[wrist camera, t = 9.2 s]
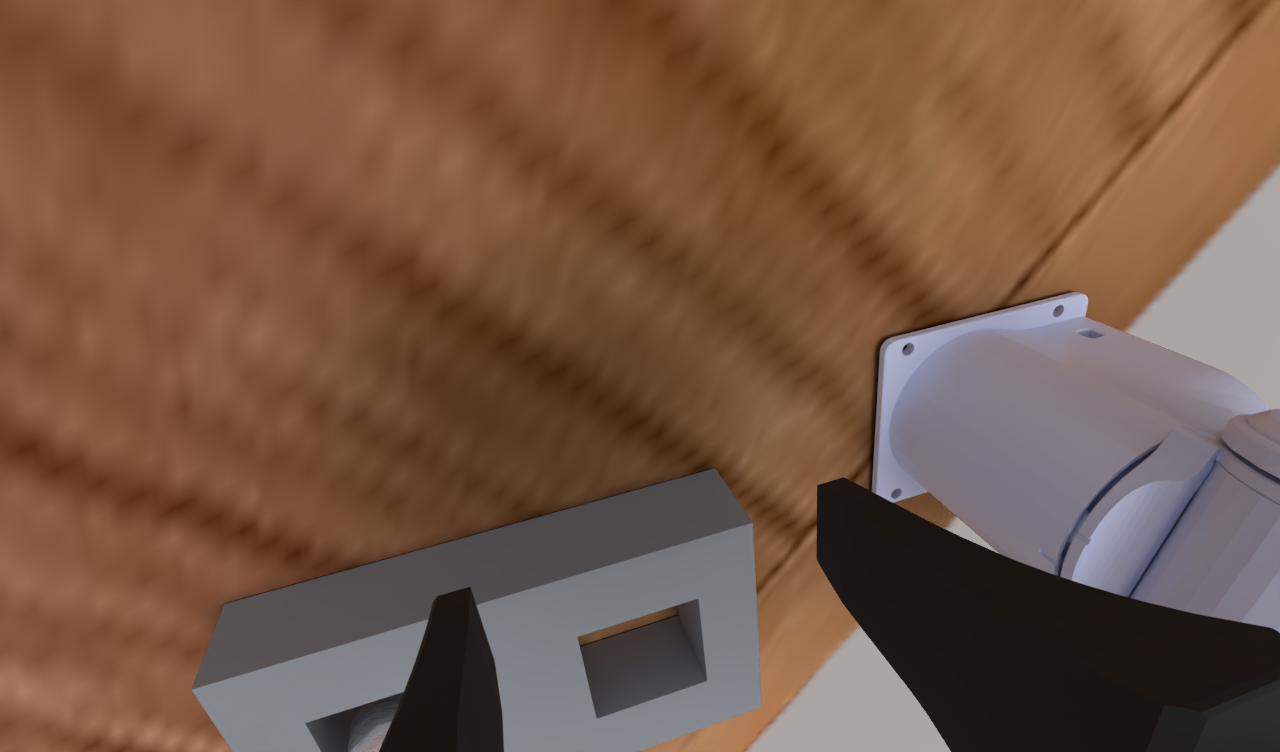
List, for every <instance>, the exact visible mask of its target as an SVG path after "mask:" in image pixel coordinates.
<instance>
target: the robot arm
mask: <svg viewBox="0 0 1280 752" xmlns="http://www.w3.org/2000/svg"><path fill="white" fill-rule="evenodd" d="M1087 306H1088V298H1087V296H1086V295H1085V294H1082V293H1079V292H1072V293H1068V294H1064V295H1060V296H1056V297H1052V298H1048V299H1044V300H1040V301H1036V302H1031V303H1027V304H1023V305H1019V306H1015V307H1011V308H1007V309H1003V310H999V311H995V312H991V313H987V314H983V315H979V316H975V317H971V318H967V319H963V320H959V321H955V322H951V323H947V324H943V325H939V326H935V327H931V328H927V329H923V330H919V331H915V332H911V333H907V334H903V335H899V336H895V337H891V338H889V339H887V340H886V341H885V342H884V343H883V345H882V346H881V349H880V359H879V376H878V393H877V410H876V427H875V444H874V461H873V478H872V492H871V491H869V490H868V489H866V488H864V487H862V486H860V485H858V484H856V483H854V482H852V481H850V480H848V479H846V478H840V479H837V480H833V481H830V482H827V483H823V484H820V485H817V561H818V562H819V564H820V566H821V568H822V569H823V571H824V573H825V575H826V576H827V578H828V580H829V582H830V583H831V585H832V587H833V588H834V590H835V591H836V593H837V595H838V596H839V598H840V600H841V601H842V603H843V604H844V605H845V607H846V608H847V609H848V611H849V612H850V613H851V615H852V616H853V617H854V618H855V620H856V621H857V622H858V624H859V625H860V626H861V628H862V629H863V630H864V631H865V633H866V634H867V635H868V637H869V638H870V639H871V641H872V642H873V643H874V644H875V646H876V647H877V648H878V649H879V651H880V652H881V653H882V655H883V656H884V657H885V658H886V660H887V661H888V662H889V664H890V665H891V666H892V667H893V669H894V670H895V671H896V673H897V674H898V675H899V676H900V678H901V679H902V680H903V681H904V683H905V684H906V685H907V687H908V688H909V689H910V691H911V692H912V693H913V695H914V696H915V697H916V699H917V700H918V702H919V703H920V704H921V706H922V707H923V709H924V710H925V711H926V713H927V714H928V716H929V717H930V719H931V721H932V722H933V724H934V725H935V726H936V728H937V730H938V732H939V733H940V735H941V736H942V738H943V739H944V741H945V742H946V744H947V746H948V747H949V749H950V750H951V752H1280V409H1273V410H1270V409H1269V408H1268V407H1267V406H1266V405H1265V403H1264V402H1263V401H1262V400H1261V399H1260V398H1259V397H1258V396H1257V395H1256V394H1255V393H1254V392H1253V391H1252V390H1250V389H1249V388H1248V387H1247V386H1245V385H1244V384H1243V383H1242V382H1241V381H1239V380H1238V379H1236V378H1234V377H1233V376H1231V375H1229V374H1228V373H1225V372H1223V371H1221V370H1219V369H1217V368H1214V367H1212V366H1209V365H1207V364H1204V363H1202V362H1199V361H1197V360H1194V359H1191V358H1189V357H1186V356H1184V355H1181V354H1179V353H1176V352H1174V351H1171V350H1169V349H1166V348H1163V347H1161V346H1158V345H1156V344H1153V343H1151V342H1148V341H1146V340H1143V339H1141V338H1138V337H1135V336H1133V335H1130V334H1128V333H1125V332H1123V331H1120V330H1118V329H1115V328H1113V327H1110V326H1107V325H1105V324H1102V323H1100V322H1097V321H1095V320H1092V319H1090V318H1087V317H1085V315H1086V310H1087ZM1054 309H1055V310H1054ZM906 344H908V345H907V348H906V349H905V350H904V351H902V350H903V347H904V346H905V345H906ZM893 491H894V492H893ZM926 492H929V493H930V494H932V495H933V496H934V497H935V498H936V499H937V500H939V501H940V502H941V503H942V504H943V505H944V506H945V507H947V508H948V509H949V510H950V511H951V512H952V513H954V514H955V515H956V516H957V517H958V518H959V519H960V520H962V521H963V522H964V523H965V524H966V525H967V526H969V527H970V528H971V529H972V530H973V531H974V532H975V533H977V534H978V535H979V536H980V537H981V538H982V539H983V540H985V541H986V542H987V543H988V544H989V545H990V546H992V547H993V548H994V549H995V550H996V551H997V552H998V553H1000V554H998V553H996V552H994V551H991V550H989V549H987V548H985V547H982V546H980V545H978V544H976V543H973V542H971V541H969V540H967V539H964V538H962V537H960V536H958V535H956V534H954V533H952V532H949V531H947V530H945V529H943V528H941V527H939V526H937V525H935V524H933V523H931V522H929V521H927V520H925V519H923V518H921V517H919V516H917V515H915V514H913V513H911V512H909V511H907V510H906V509H904V508H902V507H900V506H898V505H896V504H894V503H893V502H897V501H900V500H903V499H907V498H910V497H913V496H916V495H920V494H923V493H926ZM379 752H504V738H503V715H502V707H501V700H500V693H499V686H498V680H497V673H496V667H495V660H494V657H493V654H492V651H491V648H490V645H489V642H488V639H487V636H486V633H485V630H484V627H483V624H482V621H481V618H480V615H479V612H478V609H477V606H476V602H475V599H474V596H473V593H472V590H471V587H467V588H463V589H460V590H456V591H453V592H449V593H446V594H443V595H439V596H437V597H436V599H435V600H434V601H433V603H432V608H431V612H430V616H429V619H428V623H427V626H426V630H425V633H424V636H423V640H422V643H421V646H420V649H419V652H418V655H417V658H416V661H415V664H414V666H413V669H412V672H411V674H410V677H409V680H408V682H407V685H406V688H405V690H404V693H403V696H402V698H401V701H400V703H399V706H398V708H397V711H396V713H395V715H394V718H393V720H392V722H391V724H390V727H389V729H388V731H387V734H386V736H385V738H384V740H383V743H382V745H381V747H380V750H379Z"/></svg>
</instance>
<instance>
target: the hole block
mask: <svg viewBox="0 0 1280 752" xmlns="http://www.w3.org/2000/svg"><path fill="white" fill-rule="evenodd" d="M467 587H471V590H472V593H473V596H474V599H475V602H476V606H477V609H478V612H479V615H480V618H481V621H482V624H483V627H484V630H485V633H486V636H487V639H488V642H489V645H490V648H491V651H492V654H493V657H494V660H495V667H496V673H497V680H498V686H499V693H500V700H501V707H502V715H503V738H504V752H638V751H641V750H644V749H646V748H649V747H652V746H655V745H657V744H660V743H663V742H666V741H669V740H671V739H674V738H677V737H680V736H683V735H685V734H688V733H691V732H694V731H697V730H699V729H702V728H705V727H708V726H710V725H713V724H716V723H719V722H722V721H724V720H727V719H730V718H733V717H736V716H738V715H741V714H744V713H747V712H750V711H752V710H755V709H758V708H761V707H762V698H761V678H760V657H759V637H758V616H757V596H756V576H755V555H754V535H753V522H752V521H751V519H750V518H749V516H748V515H747V513H746V512H745V511H744V509H743V508H742V506H741V505H740V503H739V502H738V500H737V499H736V498H735V496H734V495H733V493H732V492H731V490H730V489H729V487H728V486H727V485H726V483H725V482H724V480H723V479H722V477H721V476H720V475H719V473H718V472H717V470H716V469H715V468H714V469H710V470H707V471H703V472H700V473H696V474H692V475H689V476H685V477H682V478H678V479H674V480H671V481H667V482H664V483H660V484H656V485H653V486H649V487H645V488H642V489H638V490H635V491H631V492H627V493H624V494H620V495H617V496H613V497H609V498H606V499H602V500H599V501H595V502H591V503H588V504H584V505H580V506H577V507H573V508H570V509H566V510H562V511H559V512H555V513H552V514H548V515H544V516H541V517H537V518H533V519H530V520H526V521H523V522H519V523H515V524H512V525H508V526H505V527H501V528H497V529H494V530H490V531H487V532H483V533H479V534H476V535H472V536H468V537H465V538H461V539H458V540H454V541H450V542H447V543H443V544H440V545H436V546H432V547H429V548H425V549H422V550H418V551H414V552H411V553H407V554H403V555H400V556H396V557H393V558H389V559H385V560H382V561H378V562H375V563H371V564H367V565H364V566H360V567H356V568H353V569H349V570H346V571H342V572H338V573H335V574H331V575H328V576H324V577H320V578H317V579H313V580H310V581H306V582H302V583H299V584H295V585H291V586H288V587H284V588H281V589H277V590H273V591H270V592H266V593H263V594H259V595H255V596H252V597H248V598H244V599H241V600H237V601H234V602H230V603H226V604H224V606H223V608H222V611H221V614H220V616H219V619H218V622H217V624H216V627H215V629H214V632H213V635H212V637H211V640H210V643H209V645H208V648H207V650H206V653H205V656H204V658H203V661H202V664H201V666H200V669H199V671H198V674H197V677H196V679H195V682H194V685H193V687H192V691H193V693H194V694H195V696H196V697H197V699H198V700H199V702H200V703H201V705H202V706H203V708H204V709H205V711H206V712H207V714H208V715H209V717H210V718H211V720H212V721H213V723H214V724H215V726H216V727H217V729H218V730H219V732H220V733H221V735H222V736H223V738H224V739H225V741H226V742H227V744H228V745H229V747H230V748H231V750H232V751H233V752H348V746H349V738H350V730H351V722H352V713H353V708H355V707H358V706H361V705H364V704H367V703H370V702H373V701H377V700H380V699H383V698H386V697H389V696H392V695H396V694H399V693H402V692H404V690H405V688H406V685H407V682H408V680H409V677H410V674H411V672H412V669H413V666H414V664H415V661H416V658H417V655H418V652H419V649H420V646H421V643H422V640H423V636H424V633H425V630H426V626H427V623H428V619H429V616H430V612H431V608H432V603H433V601H434V600H435V599H436V597H437V596H439V595H443V594H446V593H449V592H453V591H456V590H460V589H463V588H467ZM673 606H677V611H678V616H675V617H672V618H668V619H665V620H662V621H659V622H656V623H653V624H650V625H647V626H643V627H640V628H637V629H634V630H631V631H628V632H625V633H622V634H618V635H615V636H612V637H609V638H606V639H603V640H600V641H597V642H593V643H590V644H587V645H584V646H581V647H580V646H579V641H578V637H579V636H582V635H585V634H588V633H591V632H595V631H598V630H601V629H604V628H607V627H610V626H613V625H617V624H620V623H623V622H626V621H629V620H632V619H636V618H639V617H642V616H645V615H648V614H651V613H654V612H658V611H661V610H664V609H667V608H670V607H673Z"/></svg>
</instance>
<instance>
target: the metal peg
mask: <svg viewBox="0 0 1280 752" xmlns="http://www.w3.org/2000/svg"><path fill="white" fill-rule="evenodd" d="M403 693H404V692H402V693H399V694H396V695H392V696H389V697H386V698H383V699H380V700H377V701H373V702H370V703H367V704H364V705H361V706H358V707H355V708H353V713H352V722H351V730H350V738H349V746H348V752H379V750H380V747H381V745H382V743H383V740H384V738H385V736H386V734H387V731H388V729H389V727H390V724H391V722H392V720H393V718H394V715H395V713H396V711H397V708H398V706H399V703H400V701H401V698H402V696H403Z"/></svg>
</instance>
